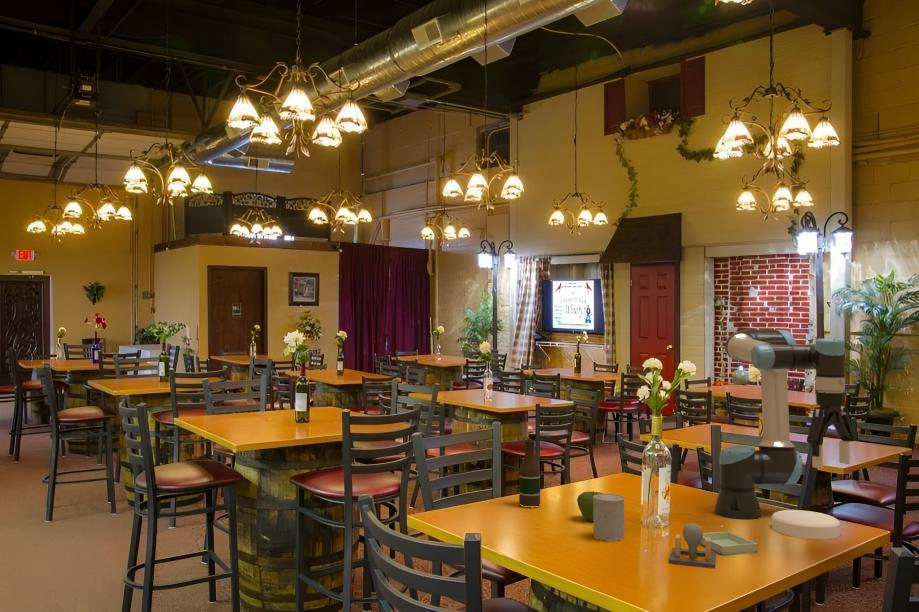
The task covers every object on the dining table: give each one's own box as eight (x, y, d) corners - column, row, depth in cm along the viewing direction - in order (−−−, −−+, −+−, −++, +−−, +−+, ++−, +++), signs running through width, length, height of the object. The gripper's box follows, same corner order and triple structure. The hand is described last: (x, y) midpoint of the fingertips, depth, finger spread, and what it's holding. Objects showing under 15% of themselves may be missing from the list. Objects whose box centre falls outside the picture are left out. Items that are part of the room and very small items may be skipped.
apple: (613, 518, 249) (613, 489, 250) (604, 525, 240) (604, 495, 240) (582, 514, 254) (582, 485, 255) (572, 521, 245) (572, 491, 245)
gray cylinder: (601, 531, 233) (600, 492, 234) (629, 536, 228) (629, 496, 228) (587, 538, 226) (587, 497, 226) (617, 543, 220) (616, 502, 220)
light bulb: (704, 563, 202) (704, 526, 202) (683, 561, 203) (683, 525, 203) (701, 557, 207) (701, 521, 207) (681, 555, 208) (681, 520, 208)
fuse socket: (668, 563, 201) (668, 541, 202) (672, 551, 213) (672, 530, 213) (715, 568, 197) (714, 545, 197) (716, 555, 208) (715, 534, 209)
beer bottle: (517, 503, 270) (517, 438, 271) (537, 503, 271) (537, 438, 272) (521, 508, 263) (521, 441, 263) (542, 508, 263) (542, 441, 264)
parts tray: (695, 542, 222) (695, 533, 222) (729, 539, 225) (729, 531, 225) (722, 555, 209) (722, 546, 209) (757, 552, 211) (757, 543, 212)
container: (844, 543, 222) (844, 527, 223) (773, 536, 229) (773, 521, 229) (835, 526, 241) (835, 512, 241) (770, 521, 248) (769, 507, 248)
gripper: (817, 394, 202) (818, 472, 201) (866, 391, 215) (868, 463, 215) (792, 392, 208) (793, 467, 207) (842, 389, 222) (842, 459, 221)
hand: (831, 465), depth 211 cm, fingers open, 13 cm apart
